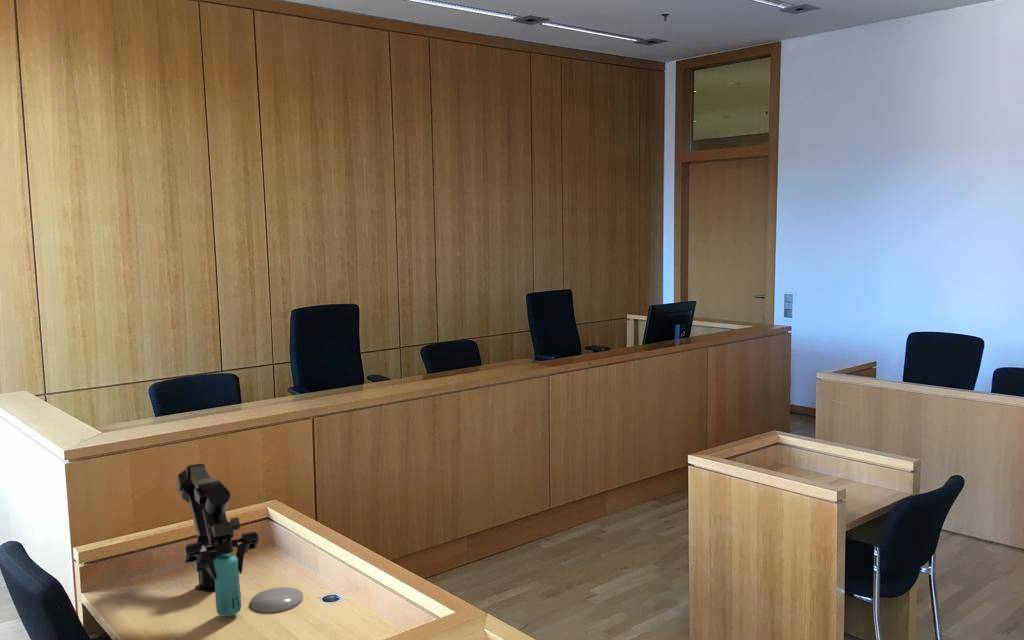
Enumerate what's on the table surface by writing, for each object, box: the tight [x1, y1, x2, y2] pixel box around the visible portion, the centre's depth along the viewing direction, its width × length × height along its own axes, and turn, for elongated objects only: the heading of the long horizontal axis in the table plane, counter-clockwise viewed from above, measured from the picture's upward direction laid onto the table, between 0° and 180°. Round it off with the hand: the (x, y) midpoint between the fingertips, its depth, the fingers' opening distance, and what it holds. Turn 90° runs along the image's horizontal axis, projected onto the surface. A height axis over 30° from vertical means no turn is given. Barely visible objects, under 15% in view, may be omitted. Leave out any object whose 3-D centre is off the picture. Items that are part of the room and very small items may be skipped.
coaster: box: [250, 586, 304, 614], centre depth 229 cm, size 14×14×1 cm
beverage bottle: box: [213, 542, 242, 617], centre depth 219 cm, size 6×7×20 cm
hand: (228, 576), depth 218 cm, fingers closed on beverage bottle, 6 cm apart
